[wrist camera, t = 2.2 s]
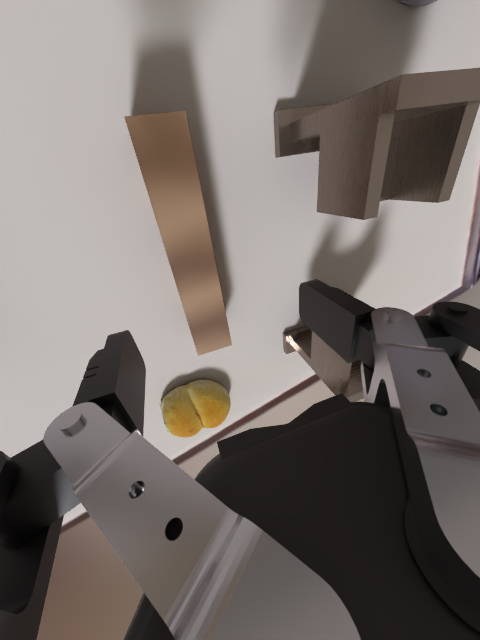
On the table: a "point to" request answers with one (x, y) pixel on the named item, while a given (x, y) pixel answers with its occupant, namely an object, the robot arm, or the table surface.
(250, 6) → the table surface
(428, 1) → the pillar candle
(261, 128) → the table surface
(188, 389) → the bread roll
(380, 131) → the brackets
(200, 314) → the rail
